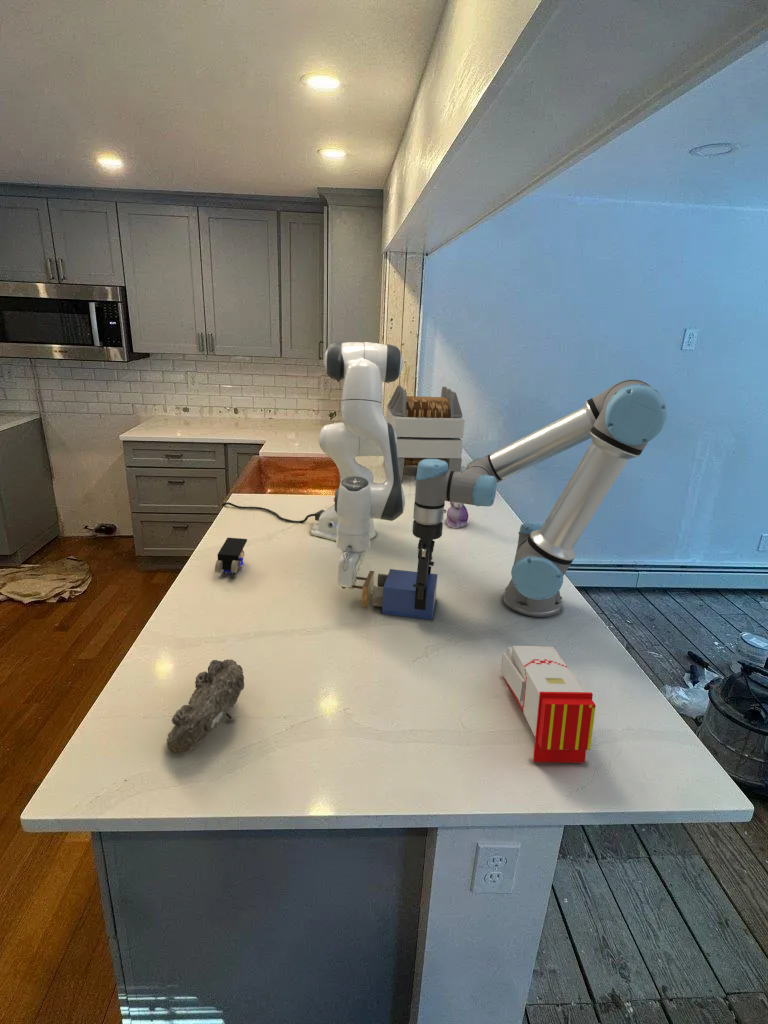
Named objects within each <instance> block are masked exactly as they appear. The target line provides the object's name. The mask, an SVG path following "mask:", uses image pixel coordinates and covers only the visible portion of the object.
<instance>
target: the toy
mask: <svg viewBox="0 0 768 1024" xmlns="http://www.w3.org/2000/svg"><path fill="white" fill-rule="evenodd" d="M506 650H507V651H502V652H501V659H500V666H499V671H500V673H501V675H502V677H503V679H504V681H505V683H506V684H507V687H508V688H509V690H510V692H511V693H512V696H513V697H514V699H515V700H516V703H517V704H518V706H519V708H520V709H521V711H522V712H523V716H524V717H525V719H526V722H527V723H528V726H529V728H530V730H531V731H532V734H533V736H534V744H533V745H534V746H533V757H532V762H533V763H568V764H569V763H575V764H576V763H577V764H578V763H579V764H582V763H583V764H585V762H586V754H587V751H591V747H592V746H591V745H592V738H593V729H594V722H595V713H596V707H597V706H596V703H595V702H594V700H593V696H594V695H593V692H590V691H589V692H587V691H586V690H585V688H584V687H583V686H582V684H581V683H580V681H579V680H578V679H577V677H576V676H575V675H574V673H573V672H572V671H571V669H570V668H569V667H568V665H567V664H566V662H565V661H564V659H563V658H562V656H561V655H560V653H559V651H557V649H556V648H555V647H554V646H545V645H544V646H543V645H542V646H540V645H535V646H534V645H512V646H507V649H506Z"/></svg>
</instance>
